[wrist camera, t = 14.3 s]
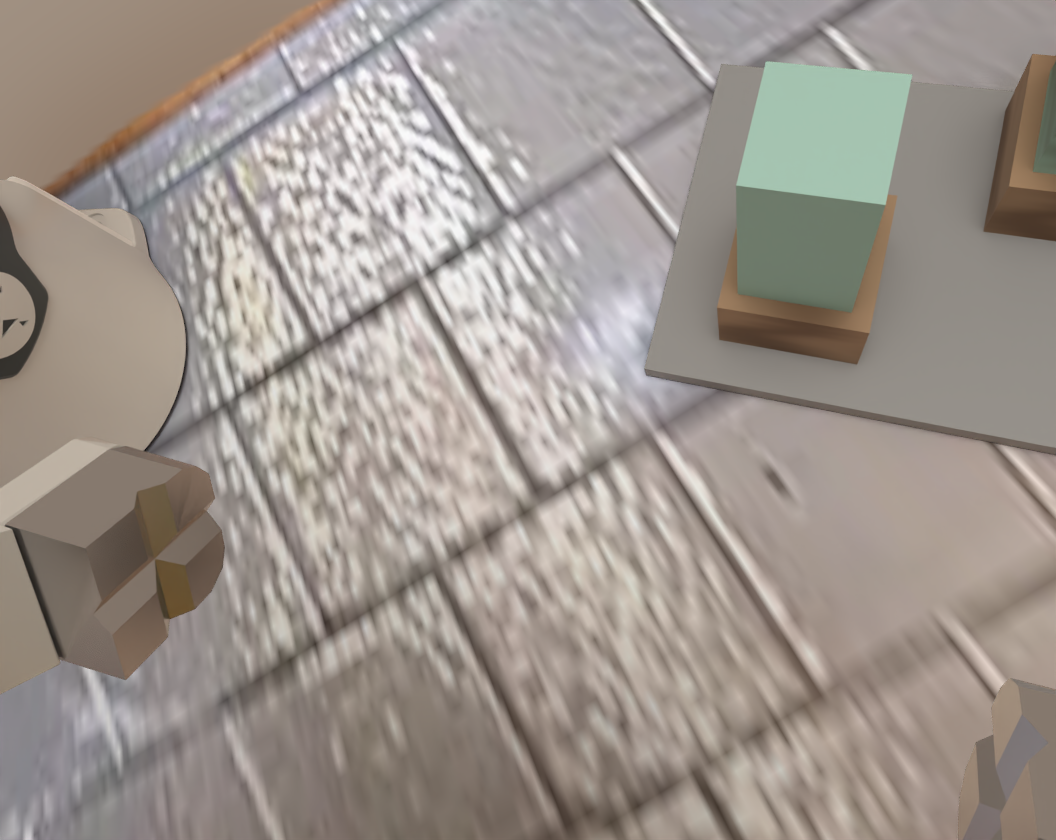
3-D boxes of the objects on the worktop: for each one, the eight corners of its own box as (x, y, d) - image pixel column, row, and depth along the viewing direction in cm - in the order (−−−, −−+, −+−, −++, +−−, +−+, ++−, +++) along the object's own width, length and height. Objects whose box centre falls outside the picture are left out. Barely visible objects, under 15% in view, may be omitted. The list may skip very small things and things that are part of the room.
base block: (719, 339, 41) (717, 307, 37) (747, 219, 42) (748, 176, 38) (857, 364, 39) (869, 333, 35) (883, 238, 40) (897, 195, 36)
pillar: (737, 294, 37) (736, 185, 28) (760, 195, 38) (766, 61, 29) (851, 312, 36) (885, 204, 27) (872, 210, 36) (912, 74, 28)
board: (646, 375, 42) (644, 368, 41) (721, 76, 45) (721, 64, 44) (1126, 468, 37) (1136, 463, 36) (1175, 120, 40) (1186, 107, 39)
